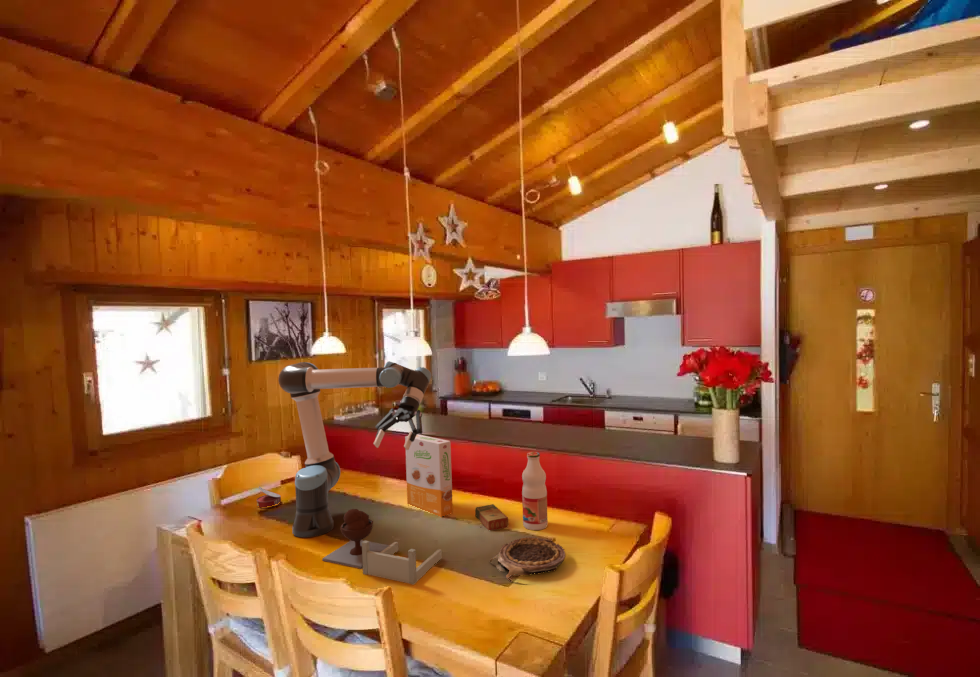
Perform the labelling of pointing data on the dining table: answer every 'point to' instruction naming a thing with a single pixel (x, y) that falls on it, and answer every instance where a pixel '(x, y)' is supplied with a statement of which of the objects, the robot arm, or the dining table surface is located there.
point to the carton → (491, 517)
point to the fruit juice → (534, 494)
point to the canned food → (268, 498)
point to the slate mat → (347, 559)
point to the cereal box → (429, 475)
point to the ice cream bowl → (356, 528)
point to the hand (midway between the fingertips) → (390, 447)
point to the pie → (530, 556)
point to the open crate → (396, 563)
